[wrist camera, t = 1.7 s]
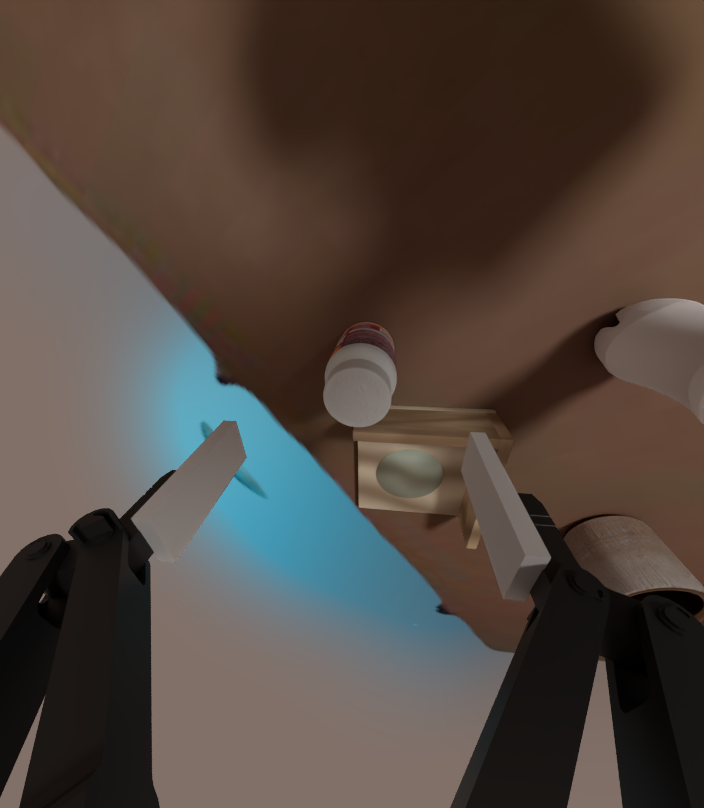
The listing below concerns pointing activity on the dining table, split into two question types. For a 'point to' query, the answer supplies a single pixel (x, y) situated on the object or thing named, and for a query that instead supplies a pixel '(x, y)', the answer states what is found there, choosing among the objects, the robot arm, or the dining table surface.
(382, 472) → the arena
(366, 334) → the pill bottle
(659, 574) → the planter
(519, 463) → the dining table surface
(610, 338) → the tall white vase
